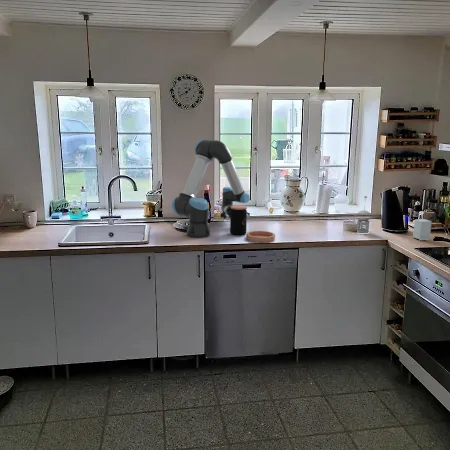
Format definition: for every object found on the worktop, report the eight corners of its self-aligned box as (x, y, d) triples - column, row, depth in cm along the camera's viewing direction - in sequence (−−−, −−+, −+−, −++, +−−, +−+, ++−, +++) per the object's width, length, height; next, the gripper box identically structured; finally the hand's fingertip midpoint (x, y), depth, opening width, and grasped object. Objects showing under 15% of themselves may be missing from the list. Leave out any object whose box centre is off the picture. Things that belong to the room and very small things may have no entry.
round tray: (251, 242, 262) (251, 238, 261) (243, 235, 279) (243, 231, 278) (278, 241, 266) (278, 237, 265) (269, 234, 282) (269, 230, 282)
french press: (366, 235, 285) (370, 197, 279) (349, 232, 292) (353, 195, 286) (372, 232, 293) (375, 195, 287) (355, 229, 300) (358, 194, 294)
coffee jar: (244, 236, 277) (245, 208, 273) (228, 235, 279) (229, 207, 275) (247, 232, 287) (248, 205, 283) (231, 231, 289) (232, 204, 285)
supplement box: (429, 241, 274) (432, 221, 271) (419, 241, 273) (421, 221, 270) (422, 238, 281) (425, 218, 278) (412, 238, 280) (414, 219, 277)
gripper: (247, 216, 309) (256, 222, 289) (213, 217, 304) (219, 223, 284) (247, 205, 308) (256, 211, 287) (213, 206, 302) (219, 212, 282)
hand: (238, 217), depth 286 cm, fingers open, 13 cm apart
